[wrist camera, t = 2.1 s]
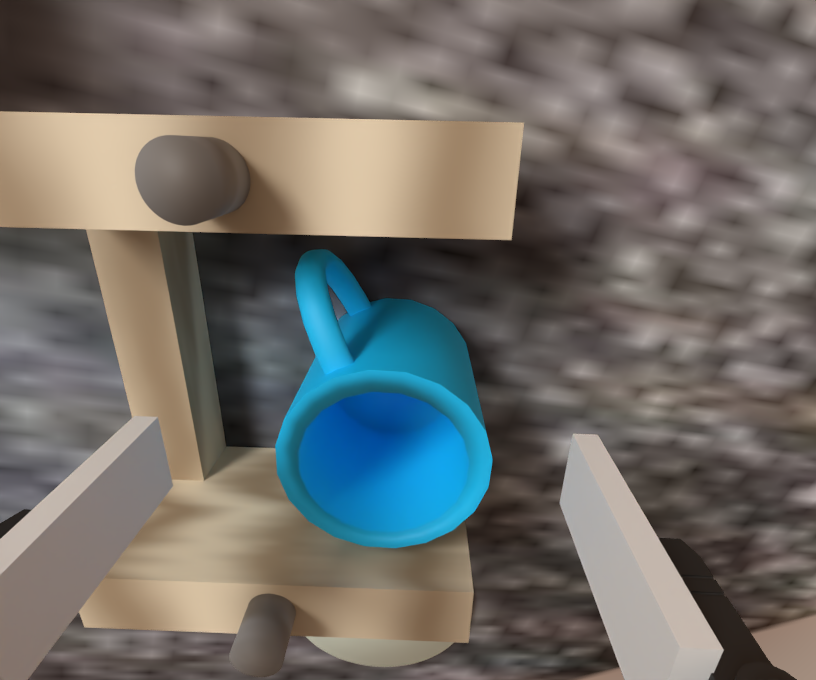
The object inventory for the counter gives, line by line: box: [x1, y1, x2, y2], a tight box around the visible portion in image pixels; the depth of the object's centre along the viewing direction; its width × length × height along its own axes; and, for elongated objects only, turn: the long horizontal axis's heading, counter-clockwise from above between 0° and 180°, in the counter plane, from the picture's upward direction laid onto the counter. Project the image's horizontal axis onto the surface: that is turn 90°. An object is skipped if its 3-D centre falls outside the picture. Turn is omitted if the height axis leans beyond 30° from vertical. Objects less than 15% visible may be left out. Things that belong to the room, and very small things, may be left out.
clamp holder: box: [0, 111, 524, 677], centre depth 19 cm, size 16×20×11 cm
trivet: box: [306, 636, 454, 667], centre depth 31 cm, size 12×12×1 cm
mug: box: [275, 249, 493, 548], centre depth 20 cm, size 12×8×8 cm
